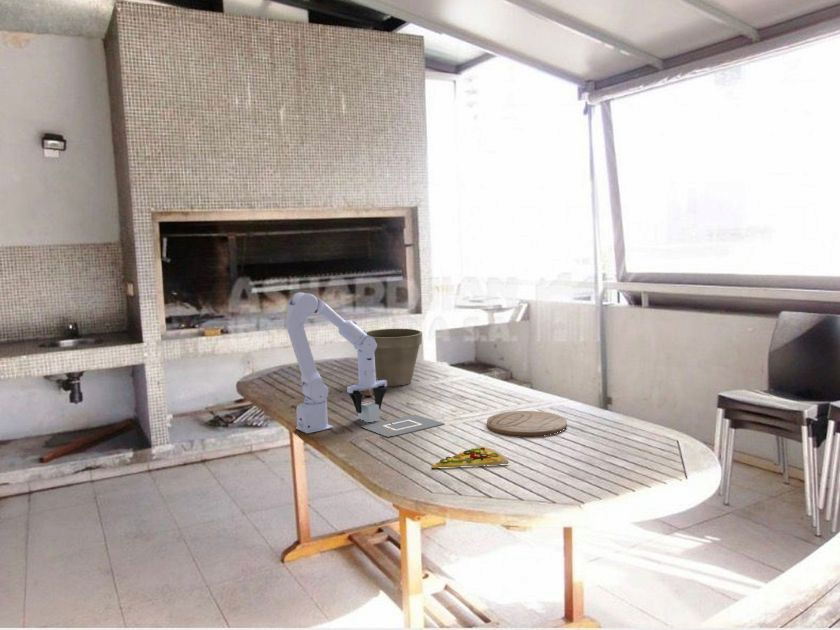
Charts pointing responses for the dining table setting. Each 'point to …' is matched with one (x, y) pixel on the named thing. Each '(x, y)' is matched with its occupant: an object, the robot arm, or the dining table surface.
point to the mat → (403, 425)
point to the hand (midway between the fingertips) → (368, 410)
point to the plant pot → (396, 354)
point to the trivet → (526, 423)
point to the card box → (369, 412)
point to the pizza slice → (474, 458)
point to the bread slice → (370, 391)
